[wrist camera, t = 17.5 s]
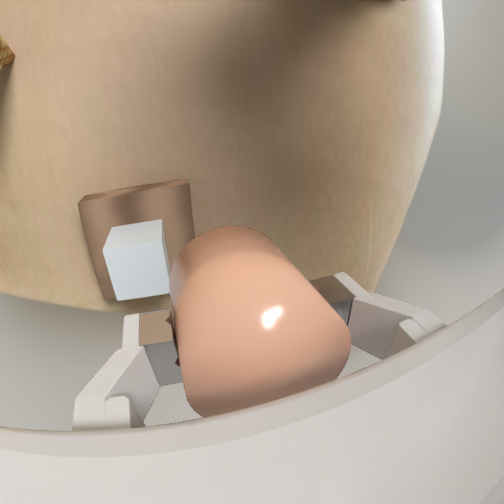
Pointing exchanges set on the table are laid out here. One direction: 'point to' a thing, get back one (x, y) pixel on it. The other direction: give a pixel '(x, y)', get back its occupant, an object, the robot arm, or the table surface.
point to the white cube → (137, 260)
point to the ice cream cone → (5, 53)
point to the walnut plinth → (136, 219)
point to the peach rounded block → (249, 323)
